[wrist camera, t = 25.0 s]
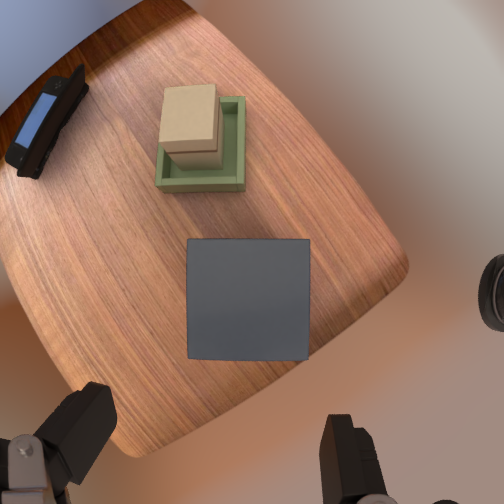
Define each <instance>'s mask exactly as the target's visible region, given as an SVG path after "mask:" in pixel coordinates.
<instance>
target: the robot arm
mask: <svg viewBox="0 0 504 504" xmlns="http://www.w3.org/2000/svg"><path fill="white" fill-rule="evenodd" d="M491 305H492V310H493V313H494V315H495V317H496V318H497V320H498V321H499V322H501V323H503V324H504V265H502V266H501V267H500V269H499V270H498V272H497V273H496V275H495V278H494V280H493V284H492V289H491ZM116 424H117V413H116V409H115V405H114V401H113V397H112V393H111V389H110V387H109V386H107V385H103V384H99V383H96V382H92V381H91V382H88V383H87V385H86V386H85V387H84V388H83V389H82V390H81V391H79V390H77V391H75V392H74V393H72V394H70V395H68V396H67V397H66V398H65V399H64V400H63V401H62V402H61V404H60V406H58V407H57V408H56V409H55V411H54V412H53V413H52V414H51V415H50V416H49V417H48V418H47V419H46V420H45V422H44V423H43V424H42V425H41V426H40V428H39V429H38V430H37V431H36V432H35V433H34V434H33V435H29V434H24V435H19V436H17V437H15V438H14V439H12V440H6V439H2V438H0V504H71V501H70V497H69V493H68V489H67V487H66V486H67V484H68V482H69V481H70V482H73V483H75V484H77V485H80V484H81V483H82V481H83V480H84V478H85V476H86V475H87V473H88V471H89V470H90V468H91V466H92V465H93V463H94V461H95V460H96V458H97V457H98V455H99V453H100V452H101V450H102V449H103V447H104V445H105V444H106V442H107V441H108V439H109V437H110V436H111V434H112V433H113V431H114V429H115V427H116ZM319 457H320V469H321V481H322V493H323V504H398V503H397V502H396V501H395V500H394V499H393V498H391V497H389V496H388V494H387V491H386V488H385V484H384V480H383V476H382V472H381V468H380V465H379V461H378V460H377V454H376V451H375V447H374V443H373V440H372V437H371V436H370V435H369V433H368V432H367V431H366V430H365V429H364V428H354V427H353V423H352V419H351V416H350V415H349V414H336V415H335V414H334V415H333V414H332V415H331V414H329V415H328V417H327V421H326V425H325V428H324V432H323V436H322V440H321V444H320V451H319ZM434 504H458V503H457V502H454V501H451V500H440V501H437V502H435V503H434Z"/></svg>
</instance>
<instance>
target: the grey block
mask: <svg viewBox="0 0 504 504" xmlns="http://www.w3.org/2000/svg"><path fill="white" fill-rule="evenodd" d="M186 305H187V352H188V359H200V360H224V361H304V360H308V357H309V327H310V239H187V263H186Z"/></svg>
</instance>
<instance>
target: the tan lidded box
mask: <svg viewBox="0 0 504 504" xmlns="http://www.w3.org/2000/svg"><path fill="white" fill-rule="evenodd" d="M224 132H225V122H224V118H223V113H222V109H221V105H220V98H219V96H218V91H217V87H216V84H202V85H189V86H177V87H168V88H165V92H164V99H163V106H162V114H161V123H160V131H159V141H158V142H159V143H160V145H161V146H162V147H163V149H164V150H165V151H166V153H167V154H168V155H169V156H170V158H171V159H172V160H173V161H174V163H175V164H176V165H177V167H178V168H179V169H180V170H181V171H188V170H221V169H223V162H224Z"/></svg>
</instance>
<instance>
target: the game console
mask: <svg viewBox="0 0 504 504" xmlns="http://www.w3.org/2000/svg"><path fill="white" fill-rule="evenodd" d="M88 89H89V86H88V85H87V83H85V66H84V64H80V65H79V66H78V67H77V68H76V69H75V71H74V72H73V74H72V75H71V76H70V78H69V79H67V78H63V77H59V76H52V77H50V78H49V79H48V80H47V82H46V83H45V85H44V86H43V88H42V90H41V91H40V92H39V94H38V96H37V97H36V99H35V101H34V102H33V104H32V106H31V107H30V109H29V111H28V112H27V114H26V116H25V118H24V119H23V121H22V123H21V125H20V127H19V128H18V130H17V132H16V134H15V136H14V138H13V140H12V142H11V144H10V146H9V148H8V150H7V152H6V155H5V161H6V162H7V163H8V164H10V165H11V166H13V167H15V168H16V169H18V171H17V176H18V177H30V178H32V179H35V180H36V179H38V178H39V176H40V174H41V172H42V170H43V167H44V165H45V163H46V161H47V159H48V157H49V155H50V153H51V151H52V149H53V147H54V145H55V144H56V141H57V139H58V136H59V133H60V131H61V129H62V128H63V127H64V126H65V125H66V123H67V122H68V120H69V119H70V117H71V116H72V114H73V112H74V111H75V109H76V108H77V106H78V104H79V103H80V101H81V100H82V98H83V97H84V96H85V94H86V93H87V91H88Z"/></svg>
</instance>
